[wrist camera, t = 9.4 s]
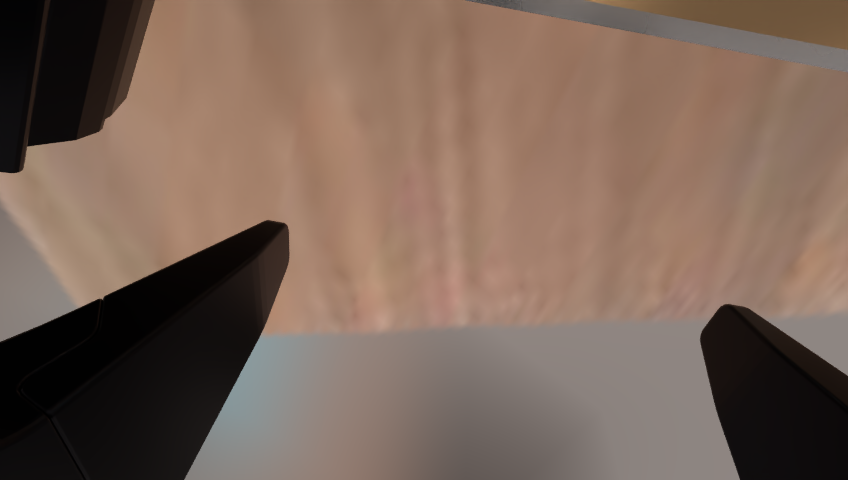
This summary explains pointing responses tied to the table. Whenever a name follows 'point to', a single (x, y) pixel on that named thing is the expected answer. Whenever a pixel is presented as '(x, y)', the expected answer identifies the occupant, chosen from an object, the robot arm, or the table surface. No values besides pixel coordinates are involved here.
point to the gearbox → (720, 24)
